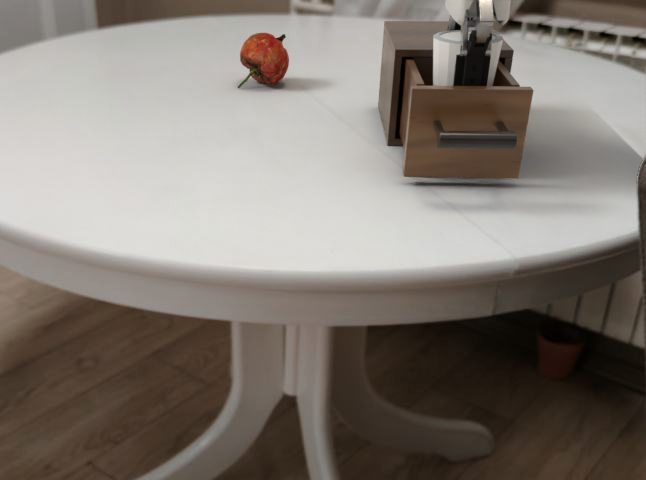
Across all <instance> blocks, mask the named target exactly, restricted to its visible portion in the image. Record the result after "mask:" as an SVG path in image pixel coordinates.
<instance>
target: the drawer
mask: <svg viewBox="0 0 646 480" xmlns="http://www.w3.org/2000/svg"><path fill="white" fill-rule="evenodd" d="M533 94H534V89H533V88H532V87H531V86H521V85H520V83H519V82H518V81H517V80H516V79H515V77H514V76H513V75H512V74H511V73H509V71H508V70H507V69H506V68H505V67H504V65H503V64H502V63H501V62H500V60H498V64H497V69H496V73H495V77H494V82H493V86H433V57H405V58H404V69H403V80H402V91H401V103H400V114H399V125H398V131H399V134H400V138H401V141H402V145H403V146H402V147H403V151H404V153H403V165H402V175H403V178H451V179H452V178H454V179H457V178H459V179H515V180H516V179H519V176H520V169H521V164H522V159H523V158H522V157H523V153H524V146H525V142H526V141H525V140H526V135H527V129H528V125H529V118H530V112H531V108H532V107H531V106H532V101H533Z"/></svg>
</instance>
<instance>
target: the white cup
mask: <svg viewBox="0 0 646 480" xmlns="http://www.w3.org/2000/svg"><path fill="white" fill-rule="evenodd" d="M471 31H472V30H468V40H469V37H470V36H469V34H471ZM498 34H499V33H498ZM498 34H495V33H492V46H491V59H490V67H489V74H488V81H487V86H493V82H494V77H495V73H496V69H497V64H498V60H499V56H500V51H501V47H502V43H503V39H504V38H503V36H502V35H500V34H499V35H498ZM460 39H461V30H453V31H444V32H439V33H437V34H435V35H433V86H453V81H454V72H455V63H456V55H460Z"/></svg>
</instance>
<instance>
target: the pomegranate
mask: <svg viewBox="0 0 646 480" xmlns="http://www.w3.org/2000/svg"><path fill="white" fill-rule="evenodd" d="M286 38H287V37H286V34H285V33H282V34H281V35H279V36H278V37H275V35H273V34H272V33H269V32H256V33H253V34H251V35H250V36H249V37H248V38H247V39H246V40H245V41H244V42H243V43H242V46H241V49H240V53H239V56H240V57H239V58H240V59H239V61H240V63H241V65H242V66H243V67H245V68H246V69H248V71H249V73H248V74H247V76H246V77H245V78H244V79H243V81H241V83H240V84H239V85H237V88H238V89H240V88H241V87H242V86H243V85H244V84H245V83H247V82H248V80H249V79H250V78H252V79H253V80H254V81H256V82H258V83H262V84H265V85H267V86H269V87H270V86H271V87H272V86H275V85H277V84H278V83H279V82H280V81H281V80H283V79H284V77H285V76H286V74H287V71H288V69H289V65H290V57H289V53H288V51H287V48H285V47H284V44H283V41H284V40H285V39H286Z"/></svg>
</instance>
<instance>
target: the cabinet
mask: <svg viewBox="0 0 646 480" xmlns="http://www.w3.org/2000/svg"><path fill="white" fill-rule="evenodd" d="M448 22H449V20H448V21H447V20H446V21H445V20H444V21H443V20H441V21H439V20H438V21H437V20H384V22H383V36H382V49H381V61H380V75H379V89H378V101H377V108H378V112H379V117H380V120H381V124H382V125H381V126H382V128H383V133H384V137H385V141H386V145H387V146H392V147H393V146H396V147H397V146H399V147H400V146H402V147H403V145H402V141H401V138H400V134H399V131H398V125H399V114H400V103H401V91H402V80H403V69H404V58H405V57H433V35H435V34H437V33H439V32H444V31H447V28H448ZM492 33H495V34H498V35H500V34H499V33H498V32H497V31H496V29H495V28H494V27H492ZM514 51H515V50H514V49H513V47H511V46H510V44H509V43H508V42H507V41H506V40H505V39H504V38H503V43H502V47H501V51H500V56H499V60H500V62H501V63H502V64H503V65H504V67H505V68H506V69H507V70H508V71H509V73H510V74H511V72H512V65H513V59H514Z"/></svg>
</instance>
